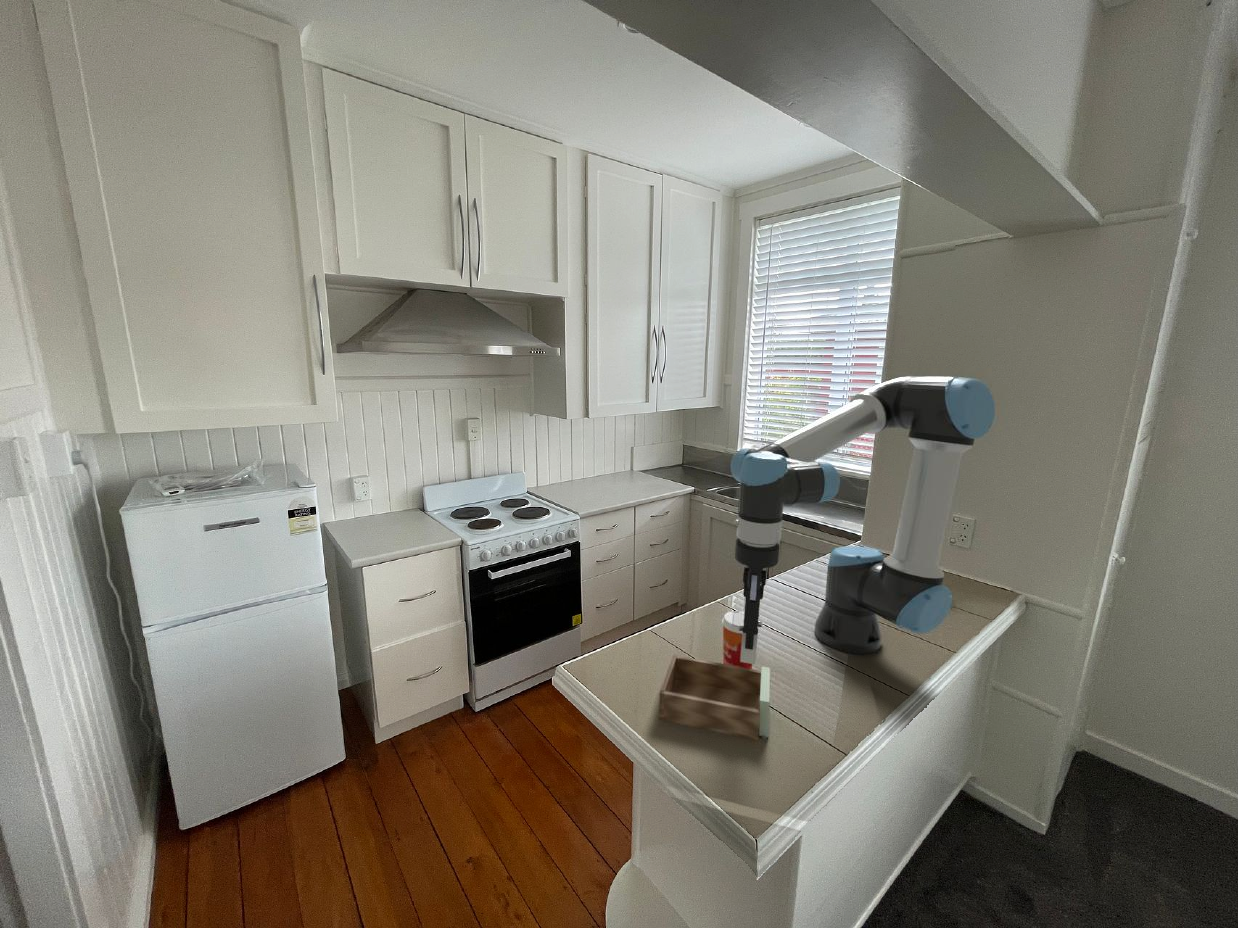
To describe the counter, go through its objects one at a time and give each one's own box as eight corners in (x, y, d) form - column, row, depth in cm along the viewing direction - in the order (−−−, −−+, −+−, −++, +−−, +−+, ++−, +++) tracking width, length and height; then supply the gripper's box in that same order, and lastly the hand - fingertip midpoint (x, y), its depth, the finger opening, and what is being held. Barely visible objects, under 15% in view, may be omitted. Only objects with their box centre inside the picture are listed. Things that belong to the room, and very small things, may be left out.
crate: (759, 699, 102) (762, 670, 101) (757, 745, 90) (760, 712, 89) (672, 682, 107) (673, 654, 106) (658, 723, 95) (659, 692, 94)
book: (769, 701, 101) (770, 666, 99) (768, 740, 90) (769, 702, 89) (761, 700, 101) (761, 665, 100) (759, 739, 91) (759, 701, 89)
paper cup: (714, 667, 113) (717, 609, 110) (748, 666, 113) (752, 608, 111) (724, 690, 105) (728, 628, 102) (760, 688, 106) (765, 627, 103)
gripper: (738, 527, 97) (730, 639, 101) (733, 550, 85) (724, 676, 89) (779, 531, 95) (769, 646, 99) (780, 555, 83) (768, 685, 87)
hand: (747, 660), depth 94 cm, fingers closed
